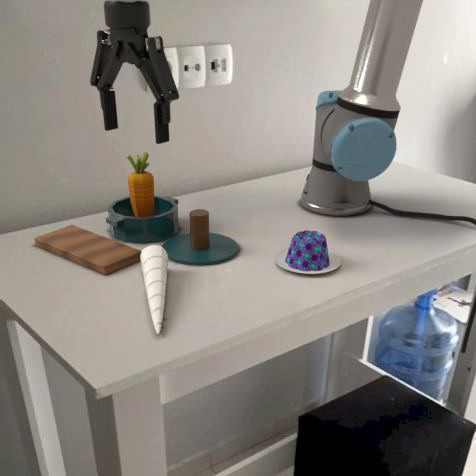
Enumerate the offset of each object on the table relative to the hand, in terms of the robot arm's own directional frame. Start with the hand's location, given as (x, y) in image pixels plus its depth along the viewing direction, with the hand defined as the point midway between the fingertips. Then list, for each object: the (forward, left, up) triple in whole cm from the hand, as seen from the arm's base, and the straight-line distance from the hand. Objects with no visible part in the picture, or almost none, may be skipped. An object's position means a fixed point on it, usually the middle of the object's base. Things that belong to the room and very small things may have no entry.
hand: (136, 135), depth 116 cm
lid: (-15, 0, -18) cm, 23 cm away
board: (0, +14, -18) cm, 23 cm away
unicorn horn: (-23, +19, -18) cm, 35 cm away
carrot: (0, 0, -18) cm, 18 cm away
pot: (0, 0, -18) cm, 18 cm away
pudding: (-34, -8, -18) cm, 39 cm away
